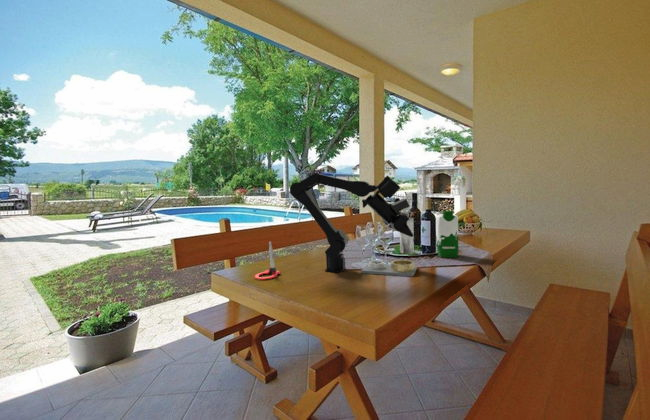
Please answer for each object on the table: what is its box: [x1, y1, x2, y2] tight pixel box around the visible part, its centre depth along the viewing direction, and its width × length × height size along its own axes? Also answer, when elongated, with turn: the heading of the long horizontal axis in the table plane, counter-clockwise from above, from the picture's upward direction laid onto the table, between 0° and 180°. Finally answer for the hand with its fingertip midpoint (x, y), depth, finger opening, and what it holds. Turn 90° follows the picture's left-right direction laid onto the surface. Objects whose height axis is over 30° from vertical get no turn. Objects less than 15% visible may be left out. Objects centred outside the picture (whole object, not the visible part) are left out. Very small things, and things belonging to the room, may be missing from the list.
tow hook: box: [254, 241, 282, 281], centre depth 122 cm, size 8×13×9 cm
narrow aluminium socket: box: [367, 260, 385, 270], centre depth 125 cm, size 6×6×2 cm
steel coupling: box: [399, 217, 415, 254], centre depth 124 cm, size 5×5×13 cm
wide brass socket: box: [390, 259, 415, 272], centre depth 121 cm, size 8×8×2 cm
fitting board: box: [360, 263, 418, 277], centre depth 123 cm, size 19×11×1 cm, turn 67°
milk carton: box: [435, 210, 459, 258], centre depth 143 cm, size 9×9×20 cm
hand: (410, 234), depth 124 cm, fingers closed on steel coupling, 5 cm apart
